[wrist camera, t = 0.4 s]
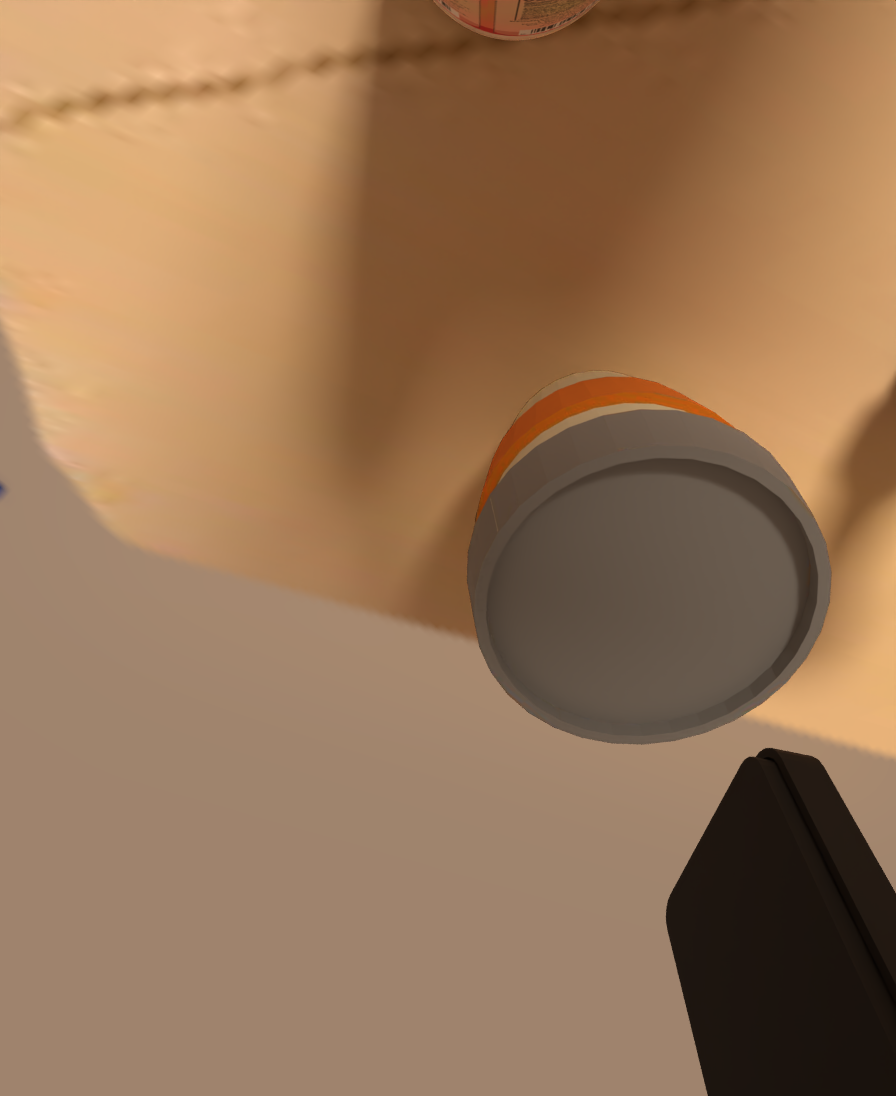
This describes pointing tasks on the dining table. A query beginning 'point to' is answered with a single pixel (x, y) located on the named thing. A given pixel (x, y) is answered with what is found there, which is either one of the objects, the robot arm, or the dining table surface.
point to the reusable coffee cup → (641, 564)
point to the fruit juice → (515, 16)
